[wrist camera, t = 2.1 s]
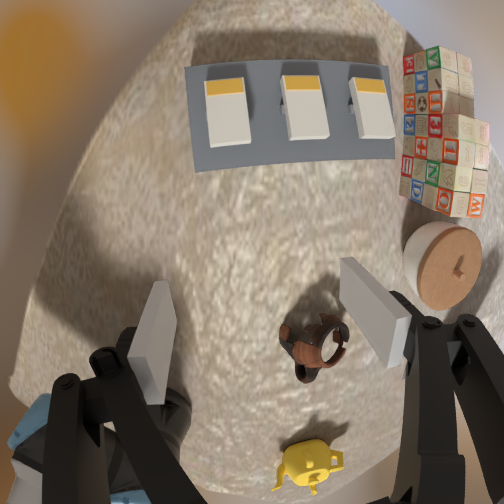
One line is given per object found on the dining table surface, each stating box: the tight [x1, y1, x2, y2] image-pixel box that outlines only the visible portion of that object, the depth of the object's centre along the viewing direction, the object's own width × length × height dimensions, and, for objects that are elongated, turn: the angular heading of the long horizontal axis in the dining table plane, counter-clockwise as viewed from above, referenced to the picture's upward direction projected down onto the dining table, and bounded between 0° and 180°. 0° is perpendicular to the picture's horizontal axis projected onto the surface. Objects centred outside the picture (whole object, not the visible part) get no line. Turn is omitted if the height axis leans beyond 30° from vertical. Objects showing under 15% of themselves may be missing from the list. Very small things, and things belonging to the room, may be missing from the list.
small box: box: [204, 77, 251, 148], centre depth 29 cm, size 4×7×2 cm, turn 5°
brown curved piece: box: [279, 313, 349, 384], centre depth 46 cm, size 12×10×8 cm
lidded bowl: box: [402, 221, 482, 310], centre depth 40 cm, size 13×13×11 cm
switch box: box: [185, 59, 395, 173], centre depth 33 cm, size 24×12×6 cm, turn 95°
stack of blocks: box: [399, 46, 490, 218], centre depth 32 cm, size 21×6×12 cm, turn 0°
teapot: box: [271, 439, 344, 495], centre depth 57 cm, size 14×13×10 cm
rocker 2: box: [348, 77, 396, 139], centre depth 30 cm, size 4×7×2 cm, turn 5°
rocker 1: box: [280, 75, 330, 140], centre depth 29 cm, size 4×7×2 cm, turn 5°
